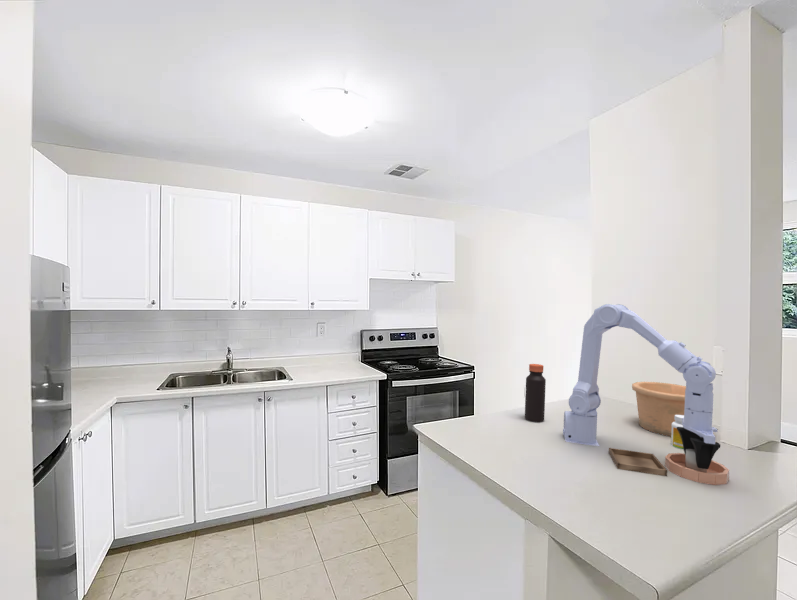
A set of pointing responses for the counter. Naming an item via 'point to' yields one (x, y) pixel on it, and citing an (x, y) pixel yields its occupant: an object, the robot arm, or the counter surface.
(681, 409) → the pottery
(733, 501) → the counter surface
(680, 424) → the supplement bottle
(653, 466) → the tray
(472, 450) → the counter surface
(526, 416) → the vinegar
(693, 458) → the stone
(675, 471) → the bowl
